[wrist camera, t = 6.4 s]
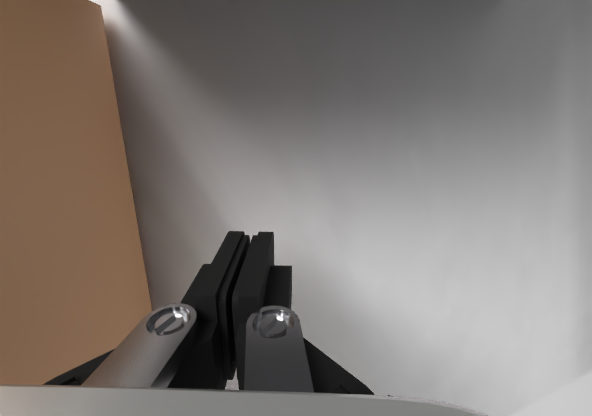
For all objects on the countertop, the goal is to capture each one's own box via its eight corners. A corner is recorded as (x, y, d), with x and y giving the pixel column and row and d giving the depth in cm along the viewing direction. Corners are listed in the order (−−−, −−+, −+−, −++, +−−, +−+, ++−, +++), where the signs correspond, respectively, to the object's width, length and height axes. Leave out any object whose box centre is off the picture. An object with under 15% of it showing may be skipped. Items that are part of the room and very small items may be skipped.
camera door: (100, 5, 12) (-225, -144, 5) (155, 329, 18) (45, 501, 10) (56, 5, 12) (-338, -146, 5) (124, 328, 18) (-9, 499, 10)
